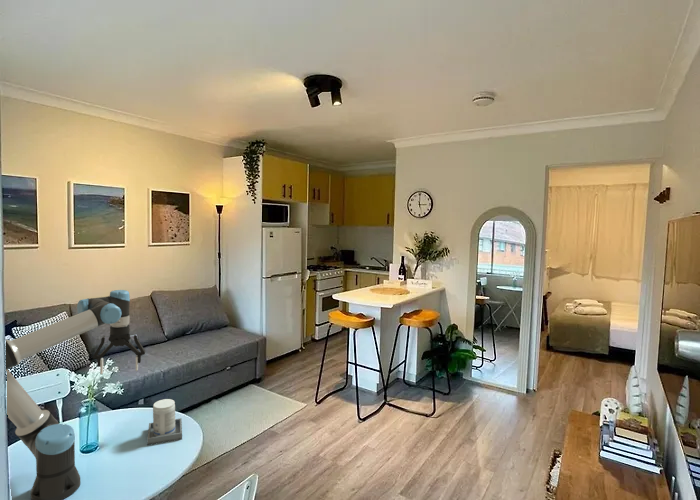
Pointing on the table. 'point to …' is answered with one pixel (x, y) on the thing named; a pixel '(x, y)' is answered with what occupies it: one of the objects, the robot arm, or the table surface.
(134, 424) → the table surface
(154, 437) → the tray
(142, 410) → the table surface
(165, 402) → the supplement tub
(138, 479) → the table surface
